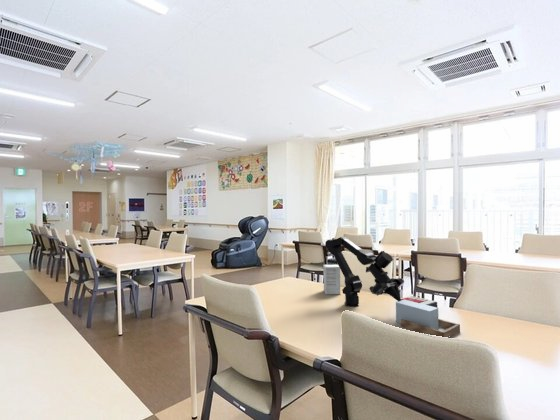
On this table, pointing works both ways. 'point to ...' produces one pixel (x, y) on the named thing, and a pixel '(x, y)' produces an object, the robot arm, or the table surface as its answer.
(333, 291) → the supplement box
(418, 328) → the frame
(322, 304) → the table surface
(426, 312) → the slate box
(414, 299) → the calculator
